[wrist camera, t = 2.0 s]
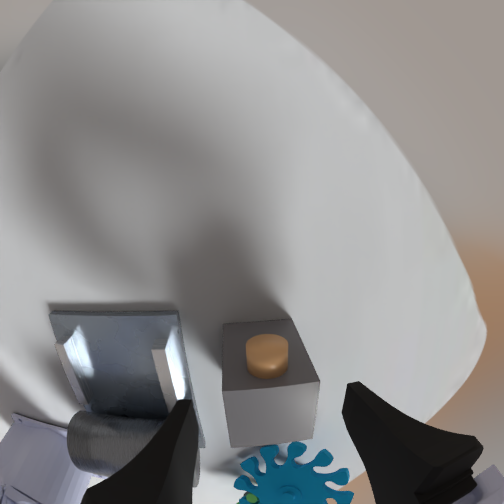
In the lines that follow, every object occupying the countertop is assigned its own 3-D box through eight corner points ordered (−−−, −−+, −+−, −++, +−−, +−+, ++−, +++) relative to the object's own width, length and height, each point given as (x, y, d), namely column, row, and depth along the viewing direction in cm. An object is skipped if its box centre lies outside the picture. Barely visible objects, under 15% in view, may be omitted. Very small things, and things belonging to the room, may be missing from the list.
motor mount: (103, 434, 18) (81, 493, 11) (52, 310, 15) (-6, 363, 9) (205, 442, 19) (202, 512, 12) (178, 310, 16) (151, 386, 9)
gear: (320, 426, 17) (369, 522, 12) (334, 411, 22) (375, 492, 17) (203, 464, 19) (248, 546, 14) (236, 449, 24) (273, 521, 19)
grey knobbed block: (228, 377, 17) (231, 447, 11) (221, 304, 16) (218, 368, 10) (290, 371, 17) (312, 438, 12) (291, 299, 16) (322, 358, 10)
